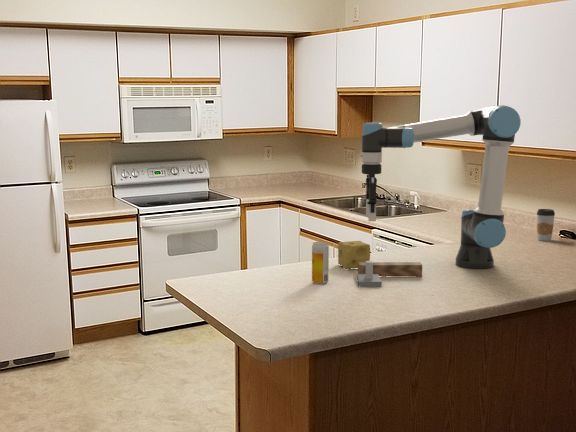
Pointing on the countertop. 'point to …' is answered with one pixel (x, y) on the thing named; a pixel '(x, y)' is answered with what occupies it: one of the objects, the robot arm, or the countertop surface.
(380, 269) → the walnut bar
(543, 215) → the coffee cup
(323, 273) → the beer can
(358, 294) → the countertop surface
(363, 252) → the cheese
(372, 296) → the countertop surface
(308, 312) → the countertop surface
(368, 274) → the fulcrum
